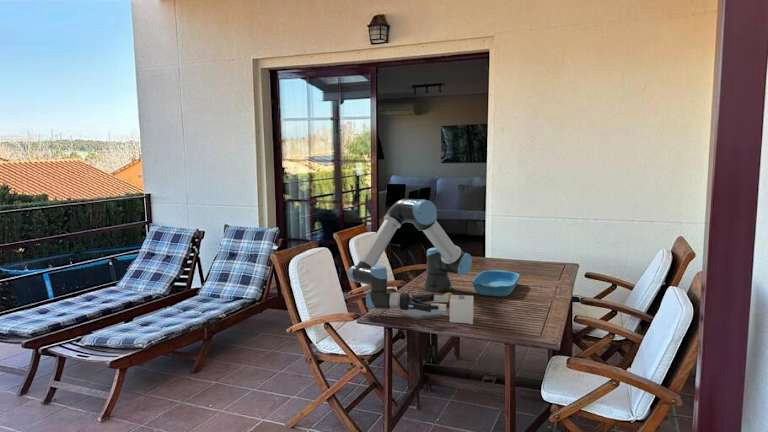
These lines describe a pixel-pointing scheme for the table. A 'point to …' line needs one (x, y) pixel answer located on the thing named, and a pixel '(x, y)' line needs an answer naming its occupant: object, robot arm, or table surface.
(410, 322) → the table surface
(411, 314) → the rubber mat
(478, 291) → the casserole dish
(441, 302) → the bread roll
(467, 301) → the box cover
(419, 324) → the table surface
